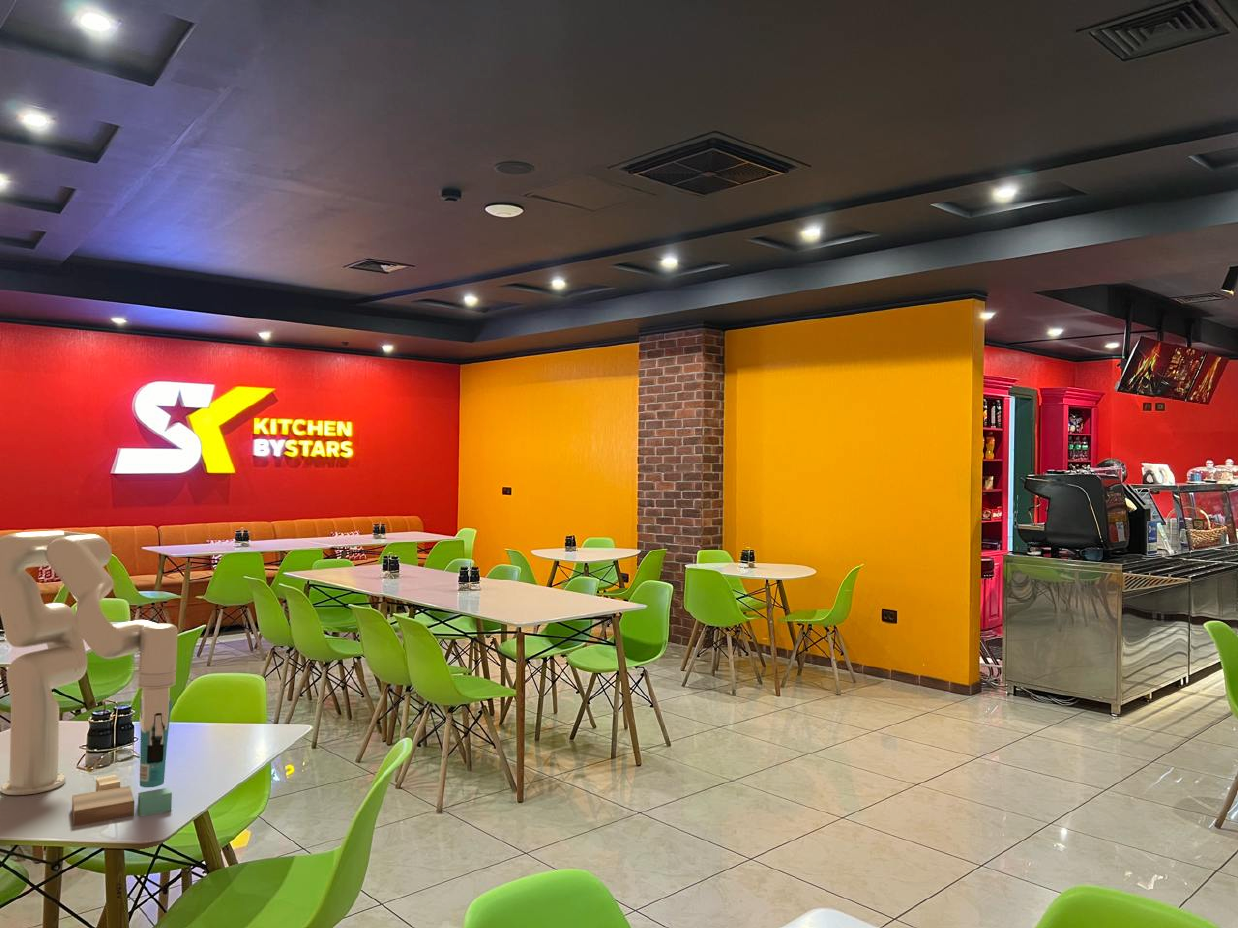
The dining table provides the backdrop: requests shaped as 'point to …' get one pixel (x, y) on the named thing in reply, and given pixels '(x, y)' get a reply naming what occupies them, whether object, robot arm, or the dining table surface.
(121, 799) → the plinth
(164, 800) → the teal block
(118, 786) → the beech block
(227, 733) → the dining table surface
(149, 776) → the tube
